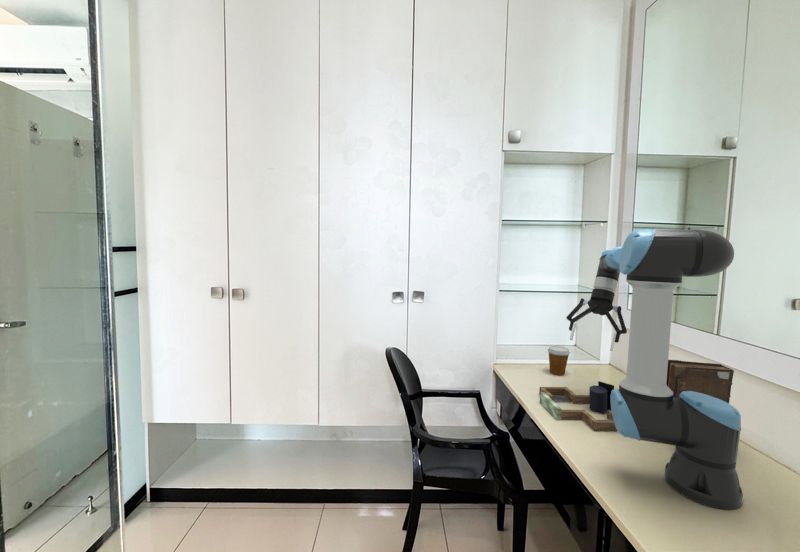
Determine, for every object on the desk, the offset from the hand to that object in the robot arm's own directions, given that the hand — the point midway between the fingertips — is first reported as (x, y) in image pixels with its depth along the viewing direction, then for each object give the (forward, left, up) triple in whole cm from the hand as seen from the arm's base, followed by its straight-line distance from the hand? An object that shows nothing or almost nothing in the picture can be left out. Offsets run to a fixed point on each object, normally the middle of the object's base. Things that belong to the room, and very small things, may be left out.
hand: (590, 345), depth 135 cm
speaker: (-4, -3, -24) cm, 24 cm away
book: (-25, -20, -24) cm, 40 cm away
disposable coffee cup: (+34, -5, -24) cm, 42 cm away
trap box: (-4, +5, -23) cm, 24 cm away
